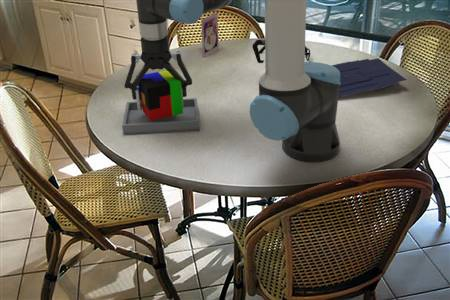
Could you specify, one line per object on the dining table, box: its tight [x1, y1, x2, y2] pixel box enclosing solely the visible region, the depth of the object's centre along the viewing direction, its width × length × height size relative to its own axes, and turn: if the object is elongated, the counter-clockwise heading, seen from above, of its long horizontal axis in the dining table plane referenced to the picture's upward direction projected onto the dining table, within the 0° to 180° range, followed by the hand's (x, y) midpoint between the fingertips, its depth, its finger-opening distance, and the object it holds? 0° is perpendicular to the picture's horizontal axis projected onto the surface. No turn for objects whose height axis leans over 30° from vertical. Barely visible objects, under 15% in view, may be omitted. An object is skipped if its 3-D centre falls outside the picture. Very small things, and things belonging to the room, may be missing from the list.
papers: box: [330, 57, 408, 99], centre depth 166 cm, size 24×30×4 cm
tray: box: [121, 97, 200, 136], centre depth 145 cm, size 16×22×3 cm
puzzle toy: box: [135, 69, 183, 121], centre depth 141 cm, size 10×10×10 cm
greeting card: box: [200, 12, 219, 58], centre depth 192 cm, size 11×7×15 cm, turn 149°
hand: (160, 107), depth 143 cm, fingers closed on puzzle toy, 12 cm apart
